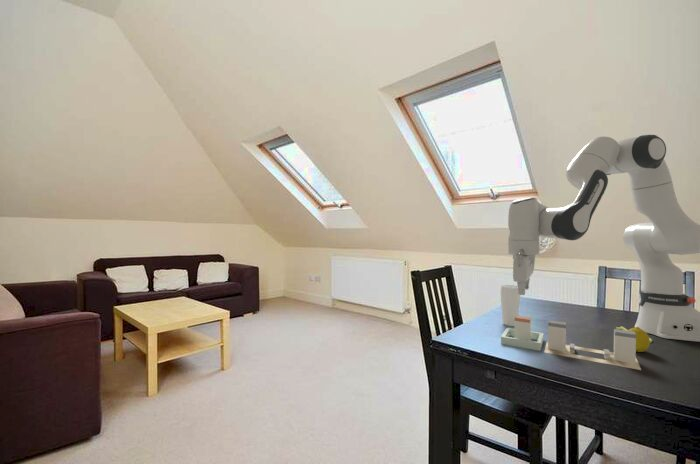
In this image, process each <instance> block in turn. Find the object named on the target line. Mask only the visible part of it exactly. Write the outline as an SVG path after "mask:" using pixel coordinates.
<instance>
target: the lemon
mask: <svg viewBox="0 0 700 464" xmlns="http://www.w3.org/2000/svg"><path fill="white" fill-rule="evenodd" d="M627 330H628V331H633V332H635V334H636V352H637V353H643V352H645V351H647V350H648V349H649V348H650V344H651V343H650V341H649V338H650V337H649V333H646V332H645V331H644V330H642V329H640V328H639V327H632V328H629V329H627Z"/></svg>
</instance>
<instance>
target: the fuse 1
mask: <svg viewBox="0 0 700 464" xmlns="http://www.w3.org/2000/svg"><path fill="white" fill-rule="evenodd" d="M547 327H548V328H547V330H548V331H547V334H548V335H547V342H548V349H553V350H558V351H564V352H566V345H567V322H564V321H558V320H556V321H555V320H551V319H550V320H548V326H547Z"/></svg>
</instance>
